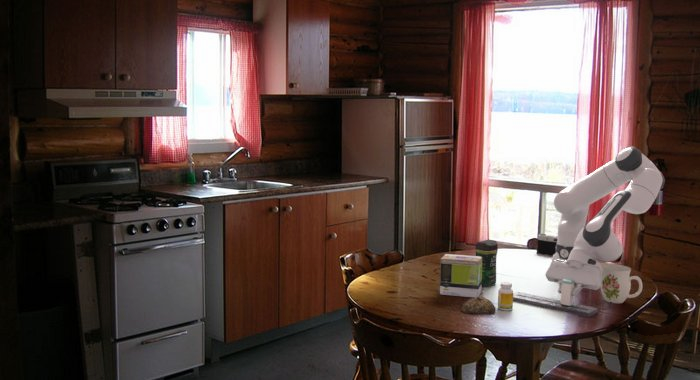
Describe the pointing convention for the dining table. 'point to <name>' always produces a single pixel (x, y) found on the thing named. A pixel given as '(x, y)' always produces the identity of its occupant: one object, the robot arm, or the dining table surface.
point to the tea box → (461, 275)
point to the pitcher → (617, 283)
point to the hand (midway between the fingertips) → (566, 293)
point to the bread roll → (478, 306)
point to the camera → (546, 244)
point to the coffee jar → (487, 260)
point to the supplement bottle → (505, 297)
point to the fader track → (554, 304)
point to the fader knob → (567, 292)
